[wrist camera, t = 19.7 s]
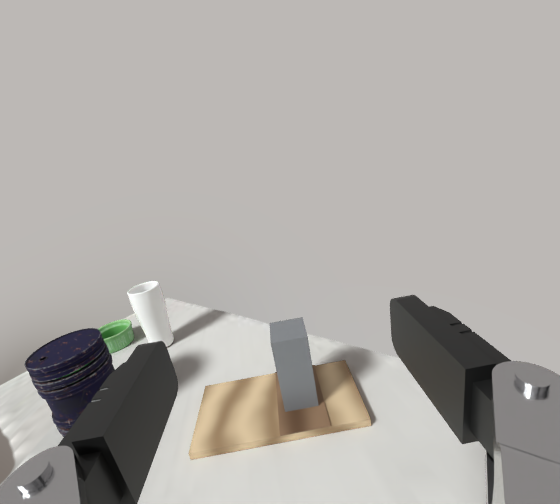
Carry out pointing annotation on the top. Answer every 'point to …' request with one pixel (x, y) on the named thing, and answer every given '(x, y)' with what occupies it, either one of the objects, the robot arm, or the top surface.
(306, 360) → the tall grey rectangular prism
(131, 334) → the ramekin
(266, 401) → the board
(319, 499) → the top surface
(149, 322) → the drinking glass
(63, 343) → the storage jar
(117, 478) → the robot arm
